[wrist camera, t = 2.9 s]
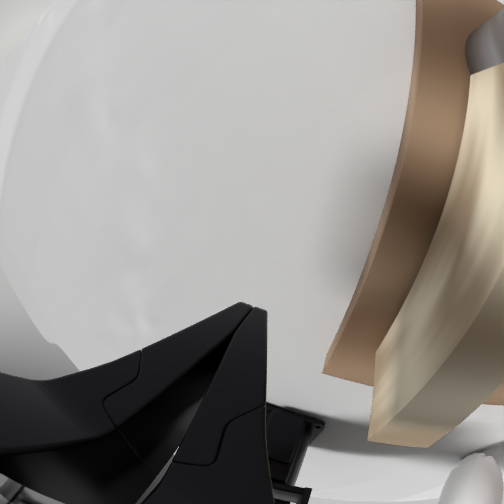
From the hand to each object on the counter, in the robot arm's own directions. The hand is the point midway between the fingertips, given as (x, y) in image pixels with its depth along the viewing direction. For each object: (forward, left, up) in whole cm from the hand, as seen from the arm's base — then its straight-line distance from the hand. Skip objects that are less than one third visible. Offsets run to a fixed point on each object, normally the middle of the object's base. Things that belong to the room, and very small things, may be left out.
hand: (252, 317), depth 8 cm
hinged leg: (+4, -7, -4) cm, 9 cm away
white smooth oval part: (-19, -27, -6) cm, 34 cm away
